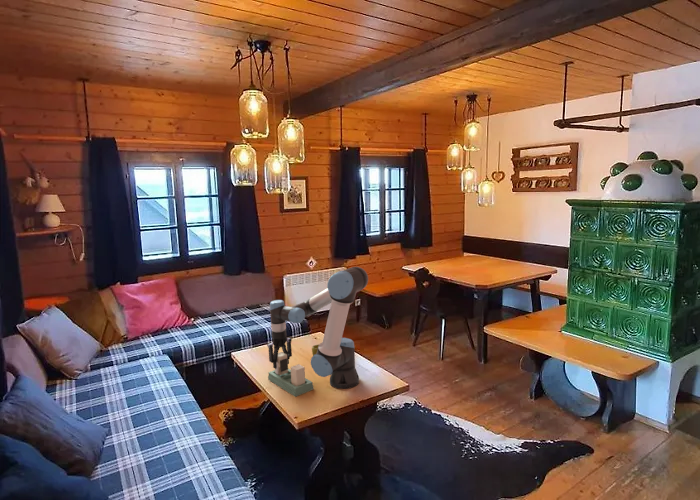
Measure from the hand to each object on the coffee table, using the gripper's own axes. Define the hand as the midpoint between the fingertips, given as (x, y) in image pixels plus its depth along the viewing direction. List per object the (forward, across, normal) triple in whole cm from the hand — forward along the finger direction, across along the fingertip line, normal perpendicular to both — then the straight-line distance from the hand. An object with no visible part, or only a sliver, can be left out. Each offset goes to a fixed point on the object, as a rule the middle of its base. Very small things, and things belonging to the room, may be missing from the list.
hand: (281, 371), depth 231 cm
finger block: (0, 0, 0) cm, 0 cm away
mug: (+5, -32, -8) cm, 33 cm away
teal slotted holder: (+4, 0, +8) cm, 9 cm away
